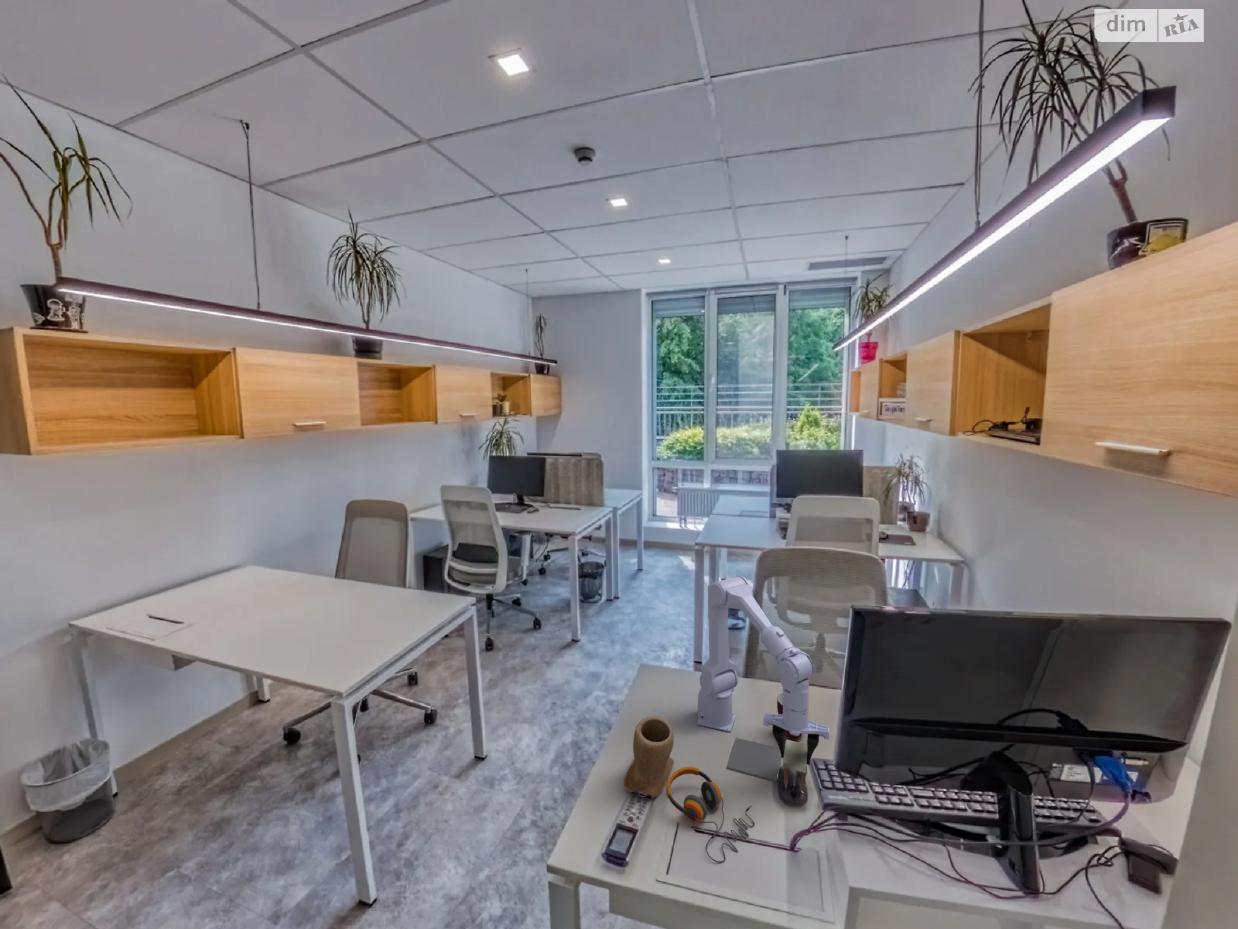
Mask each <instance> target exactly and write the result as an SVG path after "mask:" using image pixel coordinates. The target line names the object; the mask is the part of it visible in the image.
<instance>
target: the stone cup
mask: <svg viewBox="0 0 1238 929" xmlns="http://www.w3.org/2000/svg"><path fill="white" fill-rule="evenodd" d="M632 746H633V747H632V750H633V751H632V752H633V757H634V758H633V760H632V762H631V764H630V765H629V767H628V769H627V771H626V773H625V776H624V778H623V783H622V784H623V787H624V789H625V790H626V791H627V792H629V793H631V792H632V791H633V790H639V791H641V792H645V793H647V794H650V795H652V796H653V797H652V798H655V797H657V796H658V795H659V794H660V793H661V792H662V790H663V789H664V787H665V786H666V785H667V782H668V780H669V778H670V775H671V771H672V769H673V766H674V763H675V760H674V759H673V758H672V757H671V753H672V750H673V747H674V731H673V728H672V726H671V724H670V722H668V721H667V720H666V719H664V718H661V717H659V716H647V717H645V718H642V719H641V720H640V721H639V722H638V723H637V725H636V726H635V729H634V733H633V742H632Z"/></svg>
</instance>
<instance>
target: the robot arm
mask: <svg viewBox="0 0 1238 929" xmlns="http://www.w3.org/2000/svg"><path fill="white" fill-rule="evenodd" d="M707 596H708V597H707V604H708V606H707V613H708V618H707V619H708V649H709V650H708V651H709V652H708V653H709V654H708V655H709V658H708V659H707V660H706V662H705V663H704V664H703V665H702V666H701V673H700V676H699V685H700V688H699V692H698V695H697V725H699V726H703V727H706V728H712V729H715V730H721V731H724V732H729V733H730V732H732V730H733V727H734V723H735V720H736V716H737V715H736V714H734V713H733V692H735V687H737V685H738V683H739V676H738V674H737V671H736V664H735V663H734V662H733V661H732V660H730V658H729V653H730V652H729V609H733V610H739V611H741V612H742V613H743V614H744V616H746V618H747V619H748V620H749V621H750V622H751V623H752V625H753V626H754V627H755V629H757V631H758V632H759V633H760V642H761V643H762V644H763V646H764V647H765V648H766V650H767V652H768V653H769V654H770V655H771V657H772V659H773V660H774V661H775V663H776V664H777V665H776V669H777V670H776V671H777V672H778V676H779V677H780V685H781V688H782V693H783V714H773V713H771V714H770V713H764V715H763V726H766V727H768V726H772V731H771V732H772V736H773V738H774V740H775V741H776V743H777V746H778V748H779V749H780V753H781V759H783V757H784V751H785V745H786V740H785V739H786V738H785V737H786V736H785V730H788V731H790V734H792V735H796V736H799V734H802V735H805V734H806V735H807V737H806V744H807V766H808V765H809V766H810V764H811V759H812V756H813V754H814V751H815V750H816V749H817V747H818V745H819V743H820V741H819V740H820V737H822V738H823V739H824V740H826V741H827V740H828V741H829V740H830V727H829V726H825V725H823V724H820V723H817V722H815V721H813V720H811V719H810V718H809V711H810V710H809V708H810V707H809V706H810V704H809V703H810V698H809V697H810V696H809V695H810V694H809V693H810V686H809V685H810V678H811V677H812V676H813V675H814V674H815V665H814V662H813V660H812V658H811V657H810V655H809V654H807V653H806V652H804V651H803V650H800V649H799V648H798V647H796V646H794V644H793V643H792V642H791V640H790V639H789V637H788V636H787V635H786V634H785V632H784V631H783V630H782V629H781V627H779V626H776V625H772V623H771V621H770V620H769V618H768V617H767V616H766V613H764V611H763V610H762V608H761V607H760V605H759V603H758V602H757V600H756V599H755V597H754V596H753V587H752V586H751V584H749V582H748V580H747V579H746V578H745V576H742V575H736V576H734V577H730V578H727V579H722V580H719V581H717V580H716V581H713V582H711V583H710V584H709V585H707Z"/></svg>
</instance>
